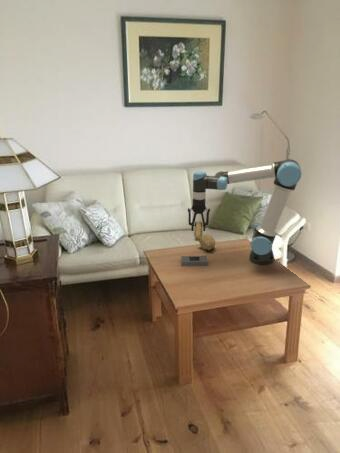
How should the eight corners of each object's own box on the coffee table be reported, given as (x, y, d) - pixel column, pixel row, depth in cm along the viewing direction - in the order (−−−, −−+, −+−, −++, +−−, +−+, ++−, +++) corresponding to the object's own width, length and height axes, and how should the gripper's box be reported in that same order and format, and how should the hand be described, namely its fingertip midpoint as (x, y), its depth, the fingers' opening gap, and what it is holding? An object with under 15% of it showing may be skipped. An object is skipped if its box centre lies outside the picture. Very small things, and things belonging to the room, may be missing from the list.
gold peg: (201, 238, 221) (201, 221, 218) (201, 241, 217) (202, 223, 214) (194, 238, 221) (194, 221, 218) (194, 241, 217) (194, 223, 214)
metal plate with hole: (206, 259, 228) (206, 255, 227) (208, 265, 219) (208, 261, 219) (181, 259, 228) (181, 256, 227) (181, 265, 220) (181, 262, 219)
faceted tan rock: (200, 245, 252) (191, 242, 243) (208, 232, 250) (199, 228, 241) (215, 256, 243) (206, 254, 234) (224, 243, 241) (215, 239, 232)
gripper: (213, 196, 214) (211, 233, 222) (184, 196, 215) (183, 233, 222) (214, 200, 207) (213, 238, 215) (184, 199, 208) (183, 238, 215)
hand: (198, 235), depth 218 cm, fingers closed on gold peg, 4 cm apart
